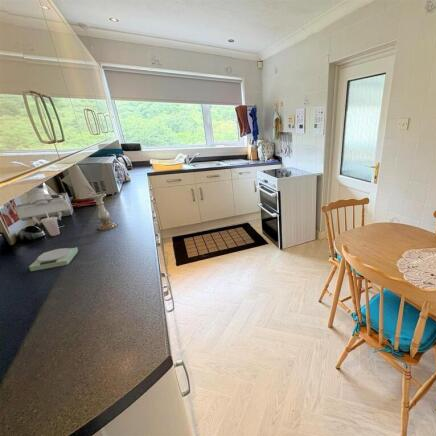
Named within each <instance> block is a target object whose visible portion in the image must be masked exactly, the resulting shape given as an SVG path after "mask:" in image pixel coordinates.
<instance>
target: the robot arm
mask: <svg viewBox="0 0 436 436" xmlns="http://www.w3.org/2000/svg"><path fill="white" fill-rule="evenodd" d="M25 195H27V200H28V203H22V204H17V205H16V206H14V212H16V213H17V216H18V219H19V220H20V221H22V222H26V221H31V220H32V221H33V222H35V223H36V224H37V225H38V226H41V225H43V223H42V222H41V219H43V218H47V215H46V212H45V211H47V213H48V216H49V217H53V216H56V217H57V222H60V221H62V216H63V214H68V213H70V212H71V211H72V208H71V206H70V204H69V202H68V201H67V200H66V199H64V197H63V195H62V194H50V193H49V189H48V187H47V184H46V183H45V182H44V183H43V184H41V185H40V186H38V187H36V188H34V189H32V190H31V191H29V192H27V193H25ZM57 215H58V216H57ZM40 218H41V219H40ZM39 219H40V220H39Z"/></svg>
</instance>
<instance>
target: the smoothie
mask: <svg viewBox="0 0 436 436" xmlns="http://www.w3.org/2000/svg"><path fill="white" fill-rule="evenodd" d="M45 212H46V215H47V217H42V218H41V219H40V220H41V222H42V225H43V226H44V228H45V229H46V231H47V232H48V234H49V235H50V236H51V237H55V236H58V235H60V234H61V232H60V227H59V222H58V220H57V217H58V216H48V213H47V211H45Z"/></svg>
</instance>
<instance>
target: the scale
mask: <svg viewBox="0 0 436 436" xmlns="http://www.w3.org/2000/svg"><path fill="white" fill-rule="evenodd" d="M78 252H79V249H78V247H76V246H75V247H70V248H69V247H63V248H56V249H53V250H49V251H44V252H43V253H42V254H40V255H39V256H38V257H37V258H36V260H35V261H34V262H32V263H31V264H30V265H29V266H28V268H29V271H30V272H34V271H35V272H36V271H40V270H46V269H51V268H52V269H53V268H57V267H62V266H68V265H69V264H70V263H71V261H72V260H73V259H74V258H75V256H76V255H77V254H78Z"/></svg>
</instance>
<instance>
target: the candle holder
mask: <svg viewBox="0 0 436 436" xmlns="http://www.w3.org/2000/svg"><path fill="white" fill-rule="evenodd" d="M106 196H107V194H106V193H104V192H98V193H93V194H90V195H88V198H89V199H93V200H94V201H95V202H96V203H95V205H96V206H97V208H98V212H97V217H98V218H99V221H100V222H101V223H100V224H99V226H98V227H97V229H98V231H107V230H112V229H114V228H116V227H117V223H115V222H113V221H111V218H110V216H111V215H110V212H109V211H108V210H107V209H106V208H105V205H104V204H105V202H104V201H103V200H104V197H106Z"/></svg>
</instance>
